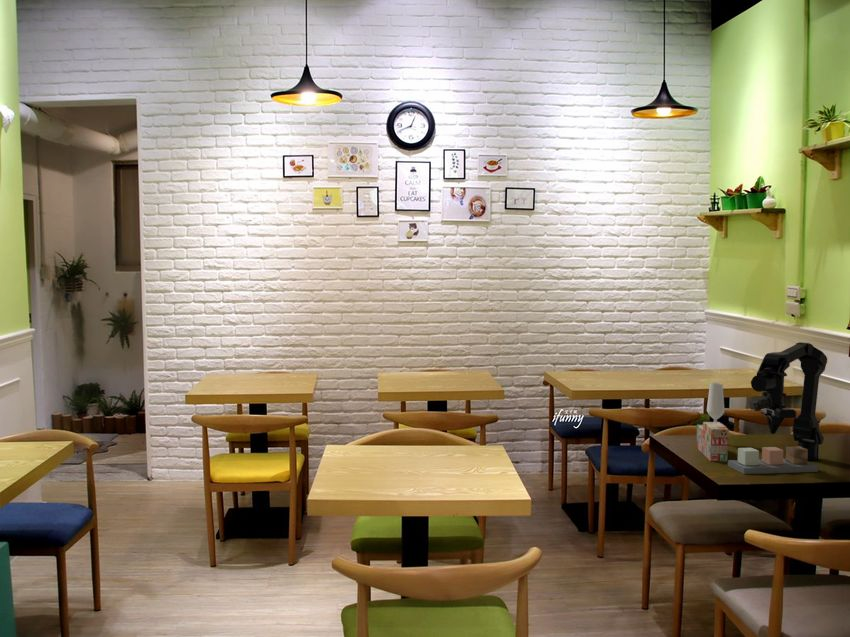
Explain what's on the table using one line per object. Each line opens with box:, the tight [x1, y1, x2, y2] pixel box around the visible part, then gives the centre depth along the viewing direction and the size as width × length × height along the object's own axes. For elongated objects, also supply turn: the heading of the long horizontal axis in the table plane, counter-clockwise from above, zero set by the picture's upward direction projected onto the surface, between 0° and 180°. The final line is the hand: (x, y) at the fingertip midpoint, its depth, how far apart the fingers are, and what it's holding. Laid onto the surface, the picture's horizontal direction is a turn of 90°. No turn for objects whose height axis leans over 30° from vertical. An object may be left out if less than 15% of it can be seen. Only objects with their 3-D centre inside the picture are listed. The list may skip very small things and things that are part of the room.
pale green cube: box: [737, 447, 760, 466], centre depth 273 cm, size 5×5×5 cm
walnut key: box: [785, 445, 808, 464], centre depth 275 cm, size 5×5×5 cm
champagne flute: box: [706, 382, 726, 422], centre depth 313 cm, size 7×7×24 cm
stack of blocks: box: [696, 421, 730, 463], centre depth 295 cm, size 21×6×12 cm, turn 174°
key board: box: [727, 458, 819, 475], centre depth 275 cm, size 27×11×2 cm, turn 96°
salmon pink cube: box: [761, 446, 784, 465], centre depth 274 cm, size 5×5×5 cm
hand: (772, 433), depth 274 cm, fingers closed
